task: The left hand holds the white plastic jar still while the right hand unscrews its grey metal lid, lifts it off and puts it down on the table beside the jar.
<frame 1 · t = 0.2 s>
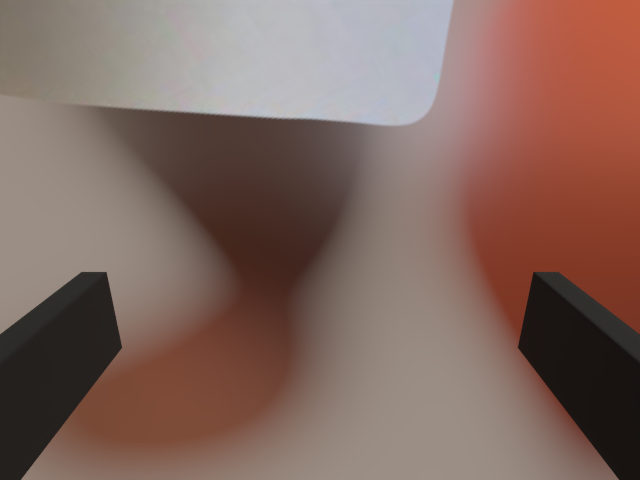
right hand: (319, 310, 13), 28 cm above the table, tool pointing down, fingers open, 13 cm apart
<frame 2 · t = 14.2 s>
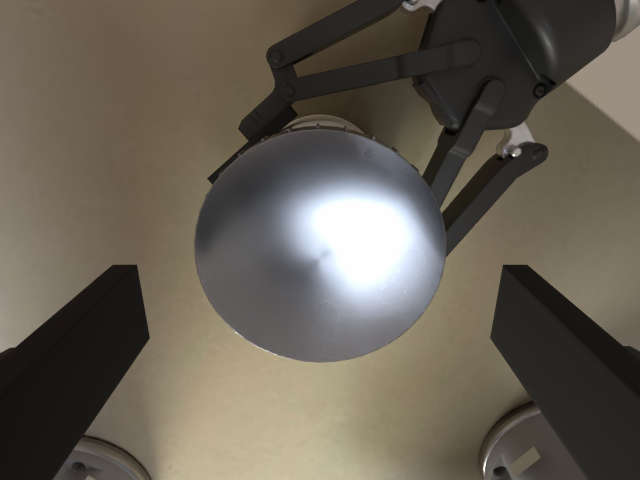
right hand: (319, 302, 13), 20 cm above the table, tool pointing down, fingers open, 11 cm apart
left hand: (270, 235, 27), fingers closed on jar, 9 cm apart
lid: (320, 255, 17), point 16 cm above the table, screwed on, not yet turned
jar: (320, 176, 32), on the table, touching left hand
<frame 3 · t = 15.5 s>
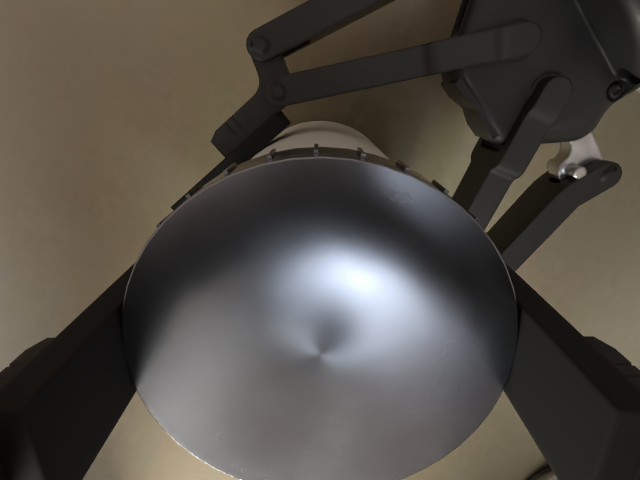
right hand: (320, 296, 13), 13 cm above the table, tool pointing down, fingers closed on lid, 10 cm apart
left hand: (256, 276, 21), fingers closed on jar, 9 cm apart
lid: (320, 346, 11), point 16 cm above the table, screwed on, not yet turned, touching right hand
jar: (319, 196, 26), on the table, touching left hand
when the right hand's fingers open (0 cm above the table, at t = 25.7 s): lid drops 2 cm, point 1 cm above the table.
when the left hand's fingers open (6 cm above the table, at t = 26.8 s): jar stays where it is, on the table.
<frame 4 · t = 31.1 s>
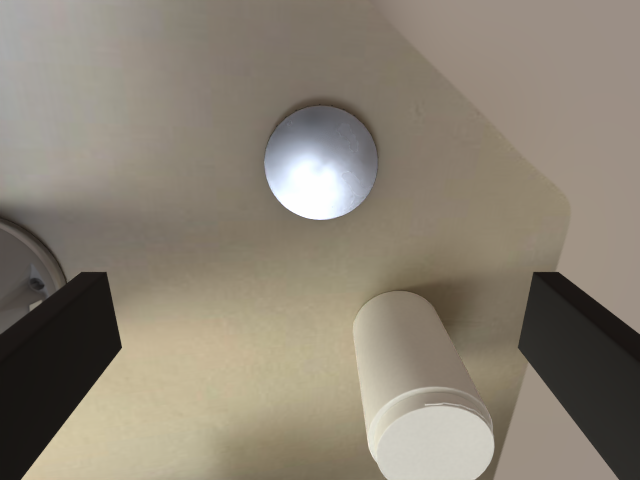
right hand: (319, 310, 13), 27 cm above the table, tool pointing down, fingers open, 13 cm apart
lid: (321, 165, 37), point 1 cm above the table, off its thread
jar: (395, 328, 44), on the table
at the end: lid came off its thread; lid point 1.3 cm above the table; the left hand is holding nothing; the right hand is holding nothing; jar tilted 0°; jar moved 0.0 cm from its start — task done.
